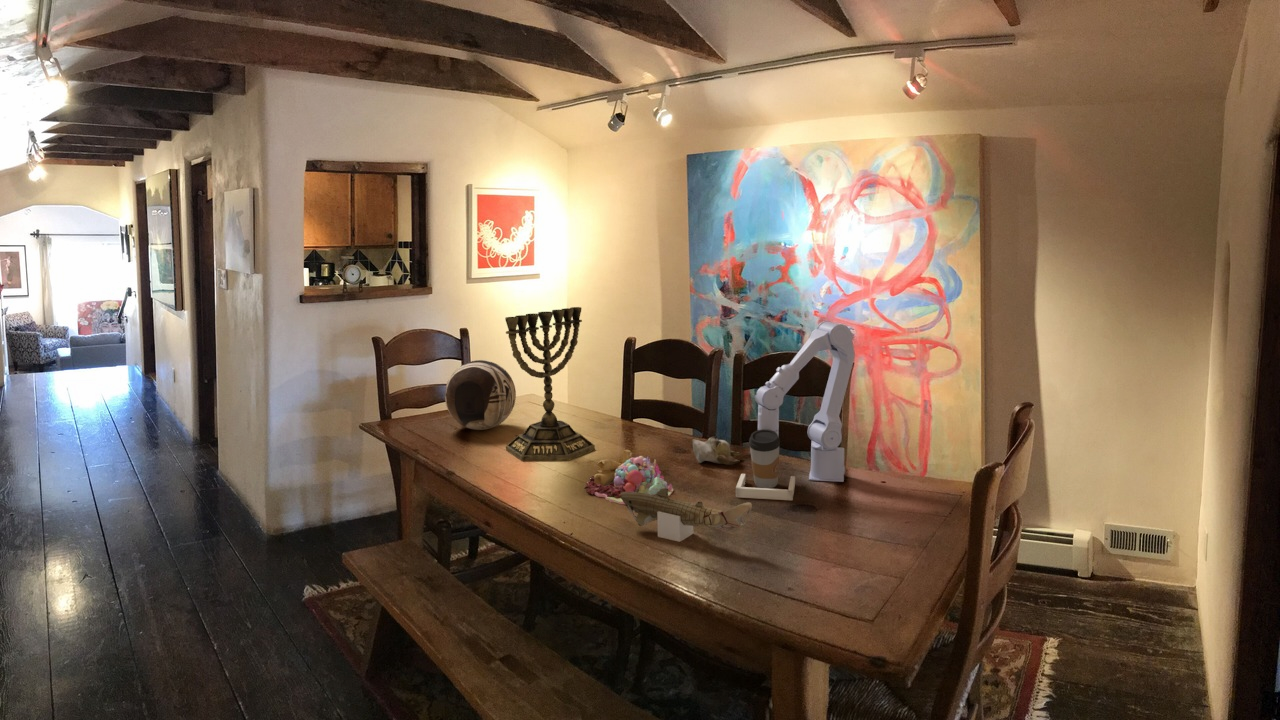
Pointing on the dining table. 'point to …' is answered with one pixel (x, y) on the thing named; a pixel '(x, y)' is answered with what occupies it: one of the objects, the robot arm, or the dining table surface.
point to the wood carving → (681, 514)
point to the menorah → (547, 388)
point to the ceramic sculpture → (714, 451)
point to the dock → (764, 491)
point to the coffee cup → (765, 457)
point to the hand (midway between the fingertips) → (767, 477)
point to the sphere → (480, 395)
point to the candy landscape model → (626, 478)
